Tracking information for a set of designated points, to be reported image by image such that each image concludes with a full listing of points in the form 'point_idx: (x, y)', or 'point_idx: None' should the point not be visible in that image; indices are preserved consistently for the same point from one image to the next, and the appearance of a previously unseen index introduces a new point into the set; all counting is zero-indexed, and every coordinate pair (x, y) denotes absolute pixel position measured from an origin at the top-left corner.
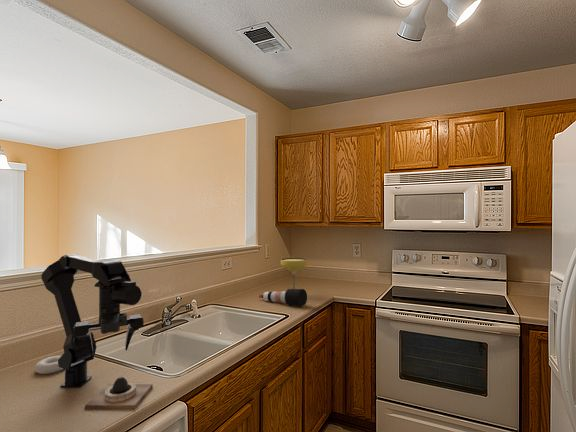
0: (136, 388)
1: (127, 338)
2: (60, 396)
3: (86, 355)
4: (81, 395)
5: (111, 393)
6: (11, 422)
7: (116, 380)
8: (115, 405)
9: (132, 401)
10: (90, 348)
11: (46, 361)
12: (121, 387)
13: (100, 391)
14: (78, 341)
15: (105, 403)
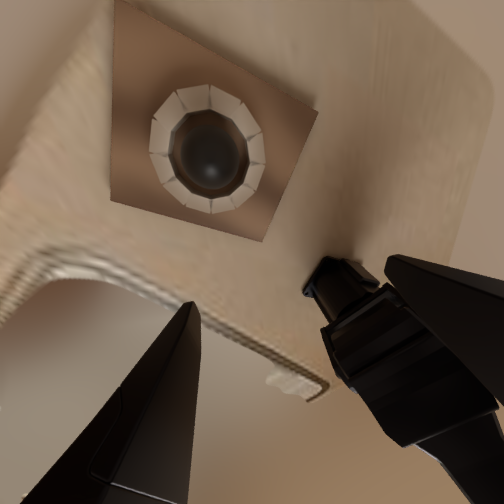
0: (163, 184)
1: (140, 406)
2: (365, 223)
3: (360, 325)
4: (321, 212)
5: (243, 174)
6: (479, 113)
7: (225, 152)
8: (210, 51)
9: (141, 55)
10: (475, 280)
11: None
12: (199, 126)
13: (278, 201)
14: (450, 383)
15: (252, 92)
